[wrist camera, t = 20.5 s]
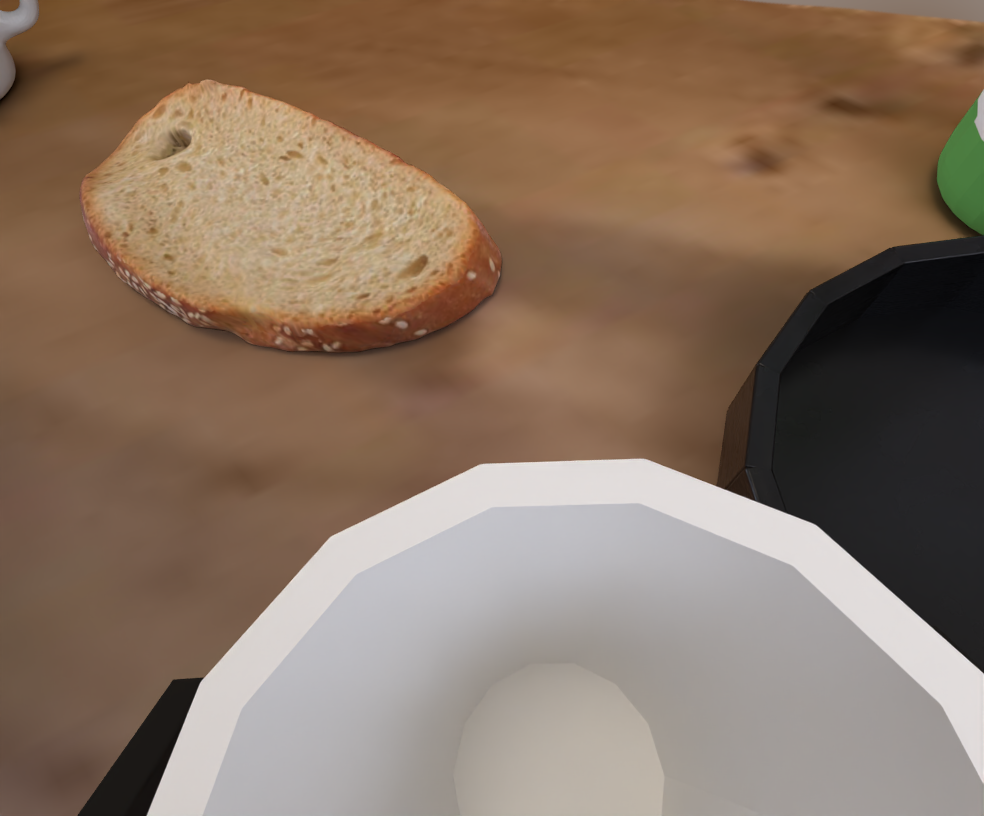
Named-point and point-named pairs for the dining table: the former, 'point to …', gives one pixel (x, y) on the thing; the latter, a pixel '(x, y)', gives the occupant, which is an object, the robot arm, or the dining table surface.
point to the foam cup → (583, 666)
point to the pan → (881, 426)
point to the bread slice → (283, 226)
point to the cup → (8, 26)
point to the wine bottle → (965, 168)
